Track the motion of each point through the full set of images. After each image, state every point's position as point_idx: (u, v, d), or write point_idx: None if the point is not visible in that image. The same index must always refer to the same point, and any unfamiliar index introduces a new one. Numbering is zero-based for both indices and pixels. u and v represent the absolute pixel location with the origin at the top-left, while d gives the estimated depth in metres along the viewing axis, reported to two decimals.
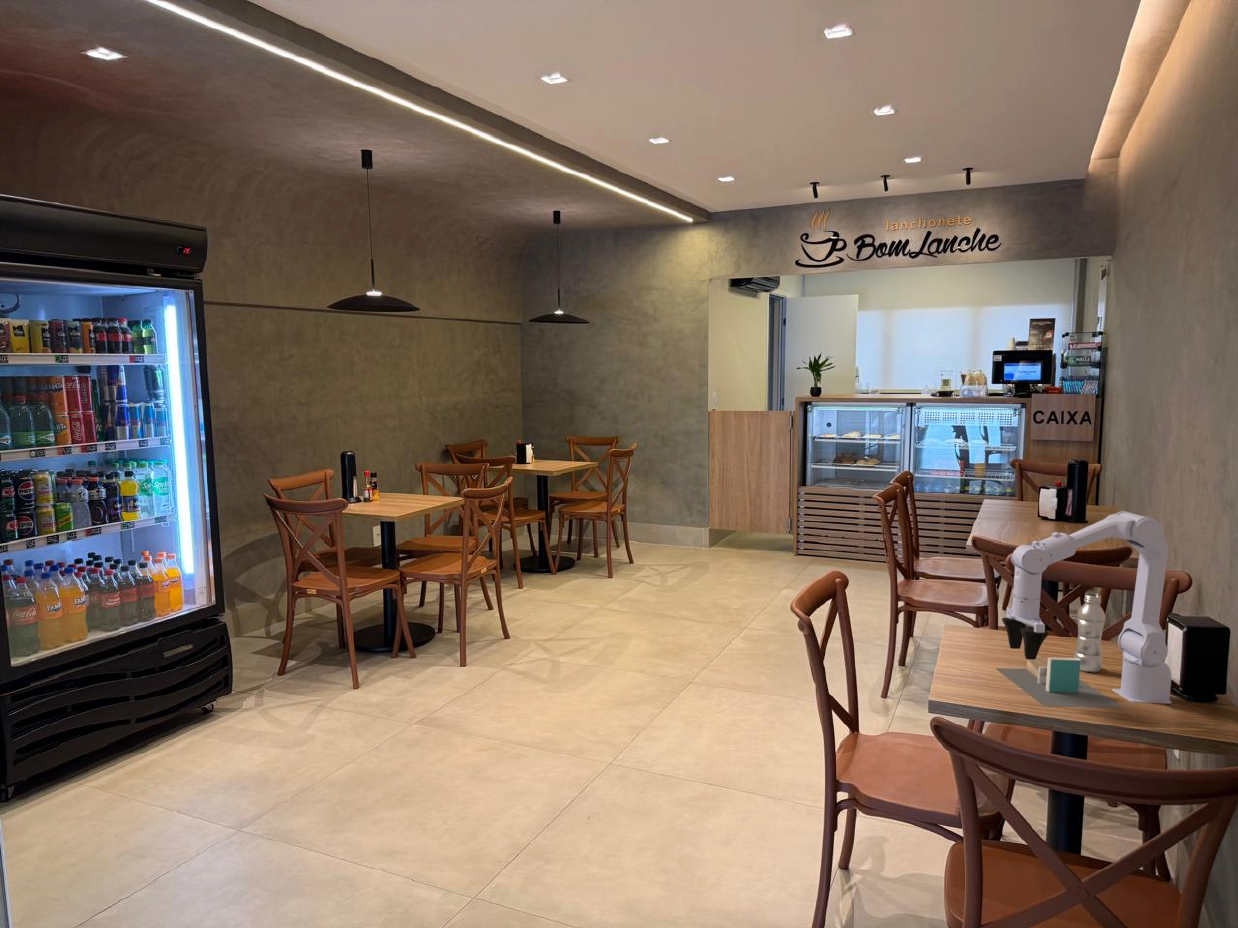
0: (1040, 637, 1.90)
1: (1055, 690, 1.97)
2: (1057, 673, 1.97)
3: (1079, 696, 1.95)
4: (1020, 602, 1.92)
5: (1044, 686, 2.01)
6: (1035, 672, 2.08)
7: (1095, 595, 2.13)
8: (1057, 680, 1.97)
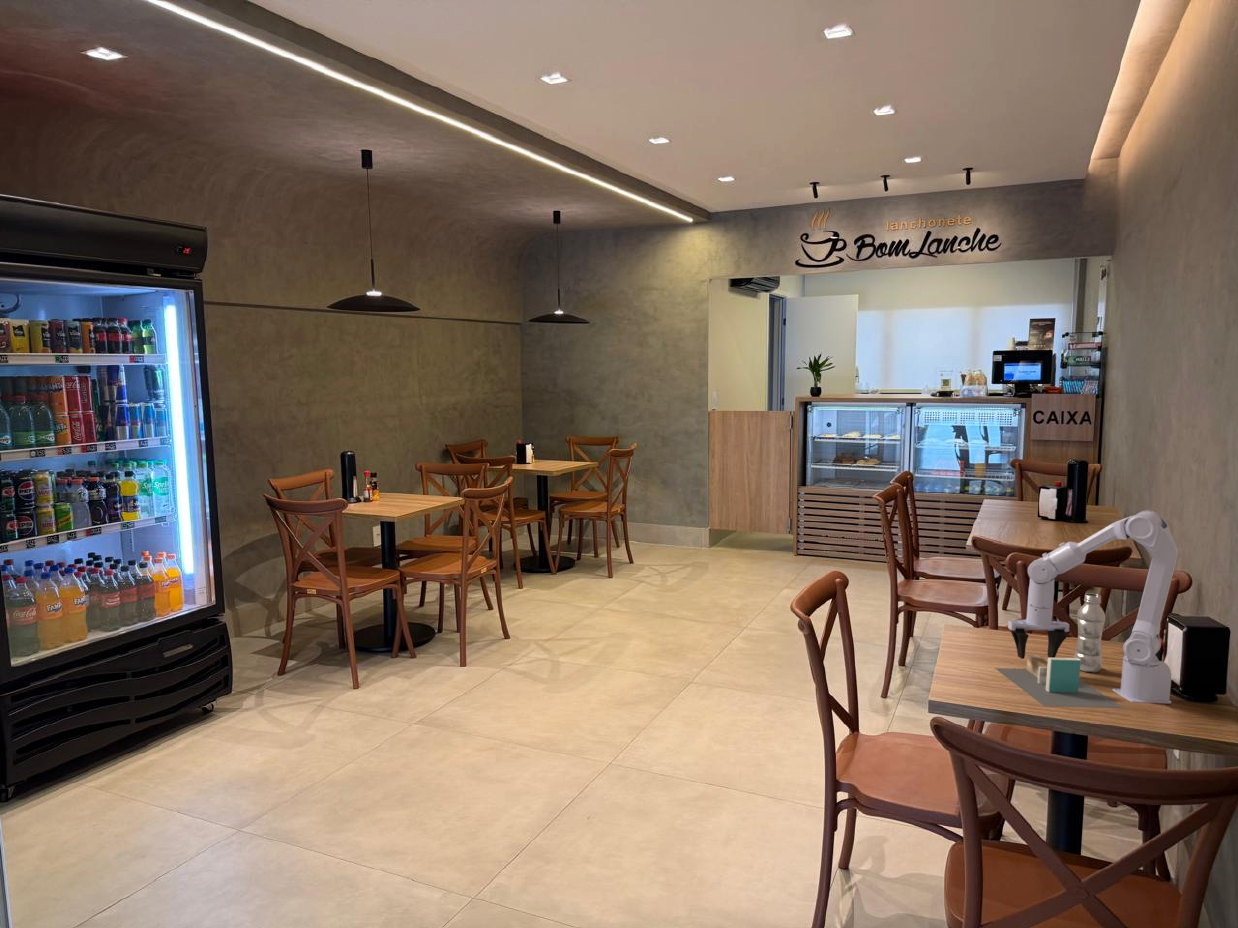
0: None
1: (1055, 690, 1.97)
2: (1057, 673, 1.97)
3: (1079, 696, 1.95)
4: None
5: (1044, 686, 2.01)
6: (1035, 672, 2.08)
7: (1095, 595, 2.13)
8: (1057, 680, 1.97)
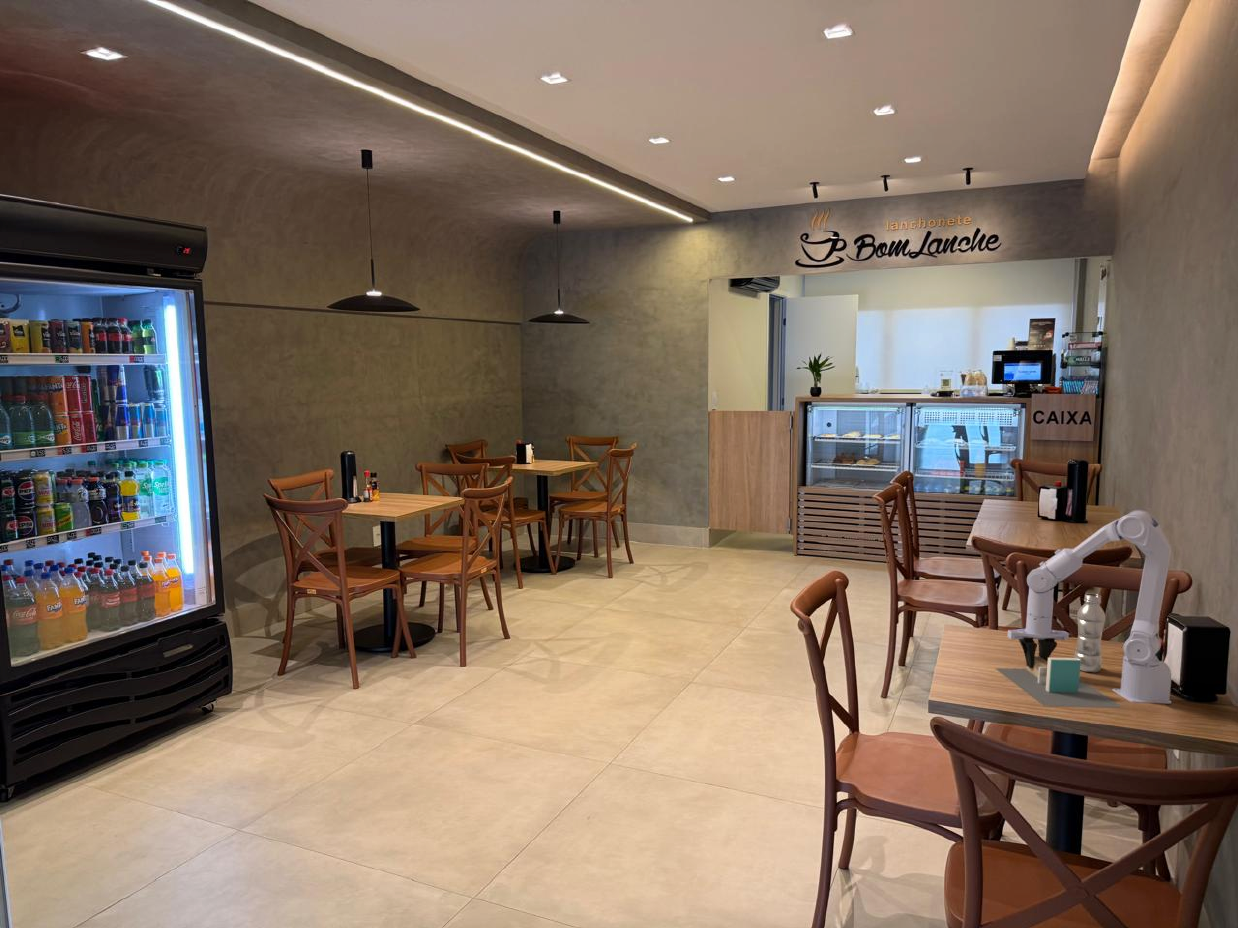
0: None
1: (1055, 690, 1.97)
2: (1057, 673, 1.97)
3: (1079, 696, 1.95)
4: None
5: (1044, 686, 2.01)
6: (1035, 672, 2.08)
7: (1095, 595, 2.13)
8: (1057, 680, 1.97)
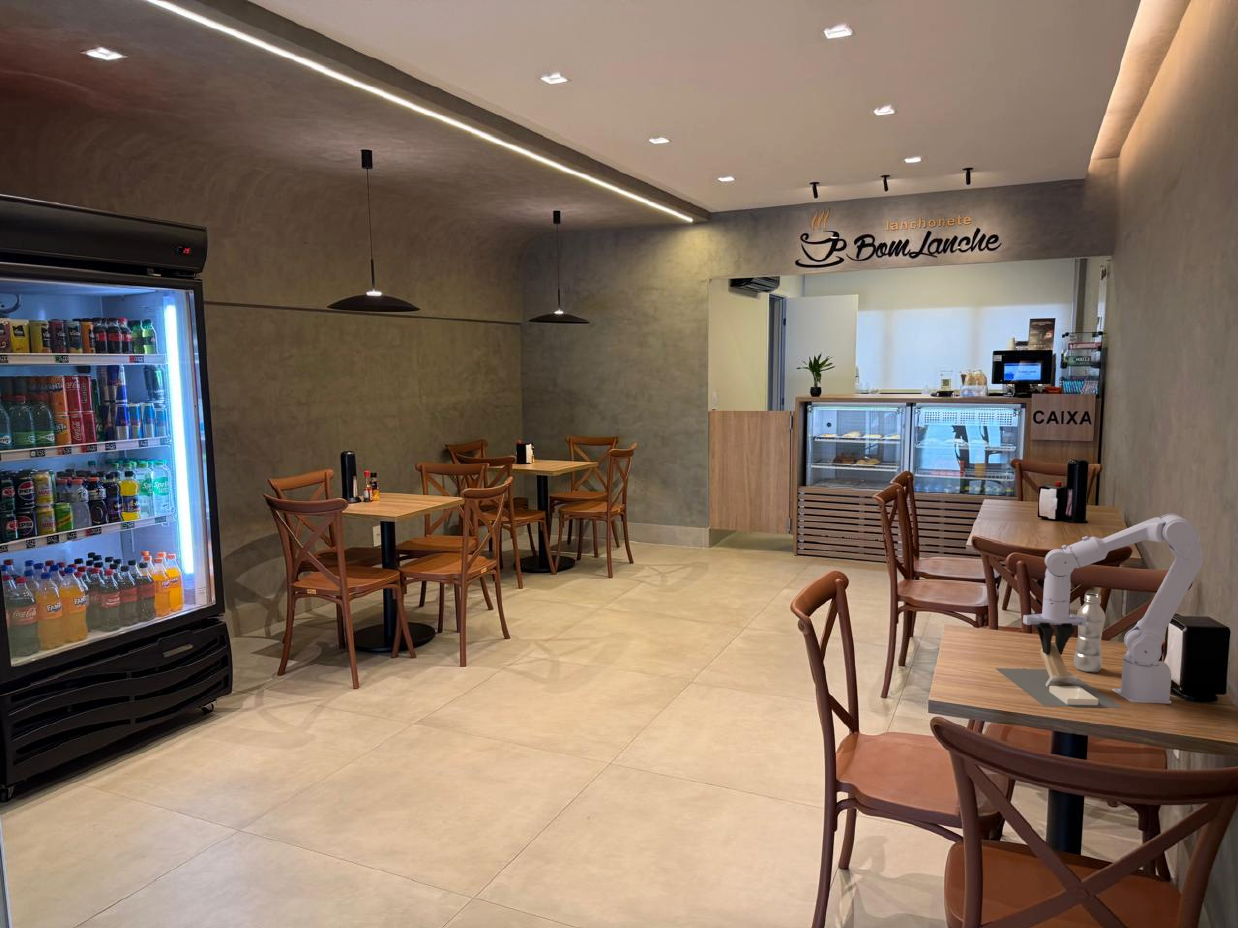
0: None
1: None
2: None
3: None
4: None
5: (1044, 686, 2.01)
6: (1047, 665, 2.03)
7: (1095, 595, 2.13)
8: None
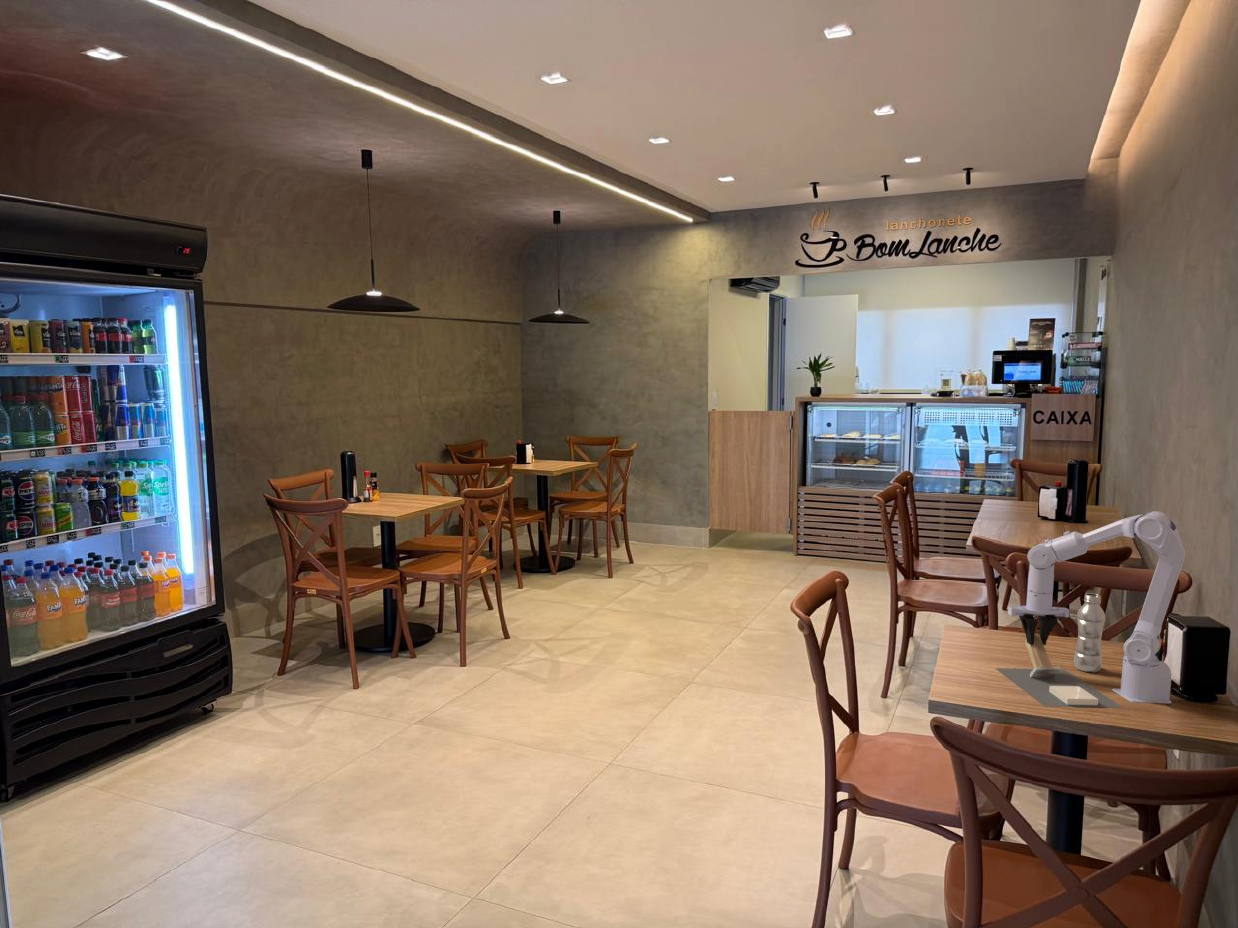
0: None
1: None
2: None
3: None
4: None
5: (1044, 686, 2.01)
6: (1031, 656, 2.10)
7: (1095, 595, 2.13)
8: None
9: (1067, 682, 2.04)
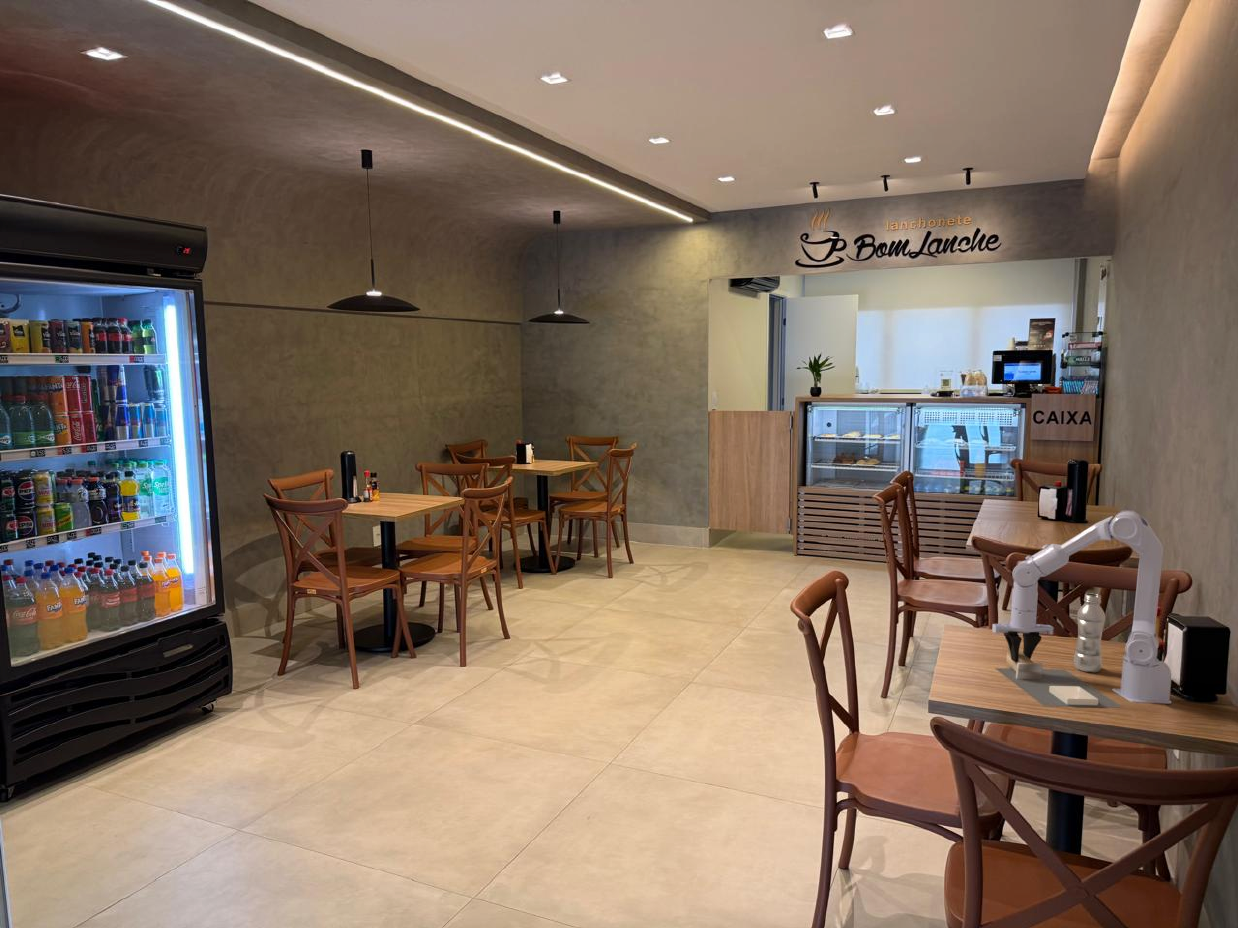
0: None
1: None
2: None
3: None
4: None
5: (1044, 686, 2.01)
6: (1014, 666, 2.11)
7: (1095, 595, 2.13)
8: None
9: (1067, 682, 2.04)
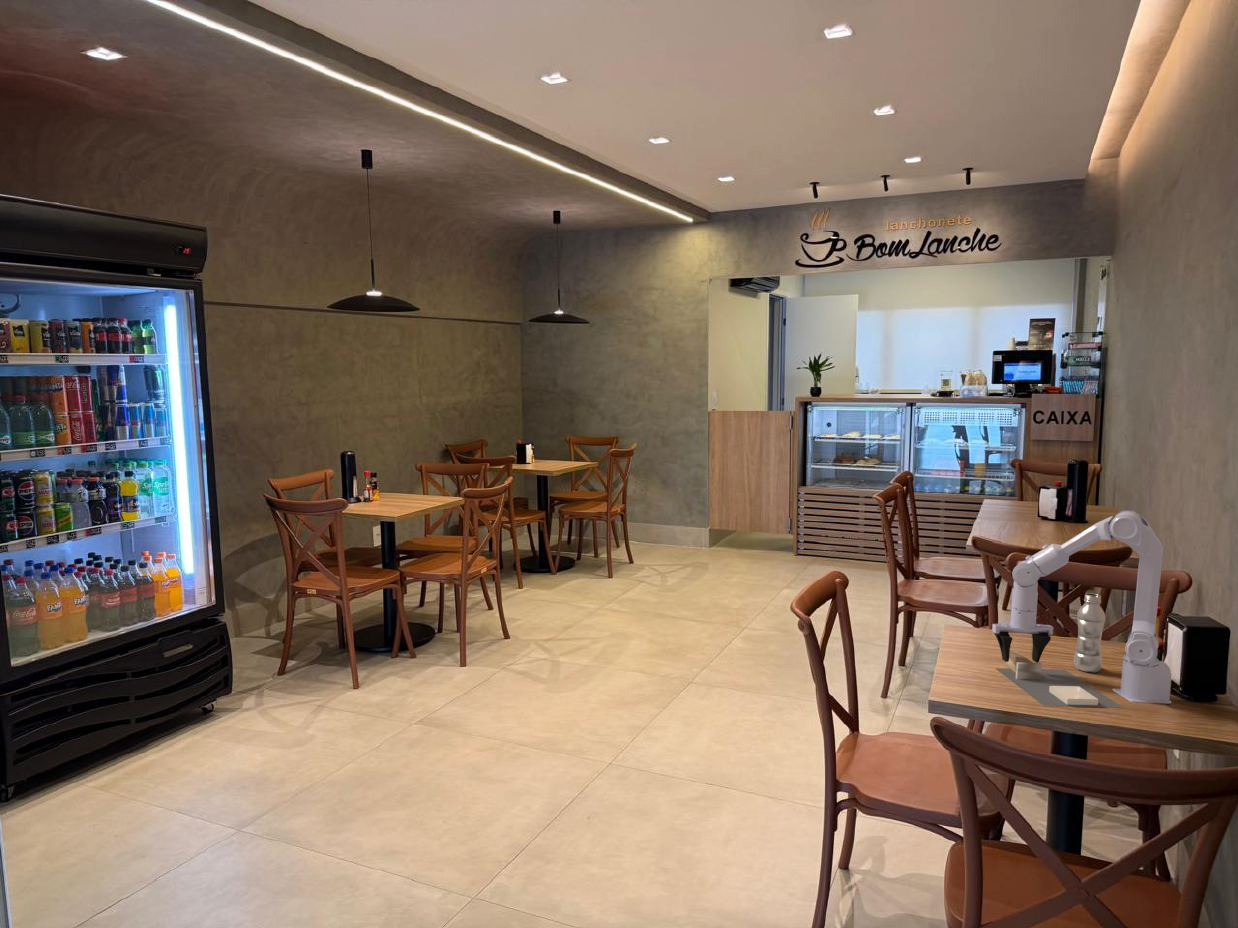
0: None
1: None
2: None
3: None
4: None
5: (1044, 686, 2.01)
6: (1014, 668, 2.11)
7: (1095, 595, 2.13)
8: None
9: (1067, 682, 2.04)
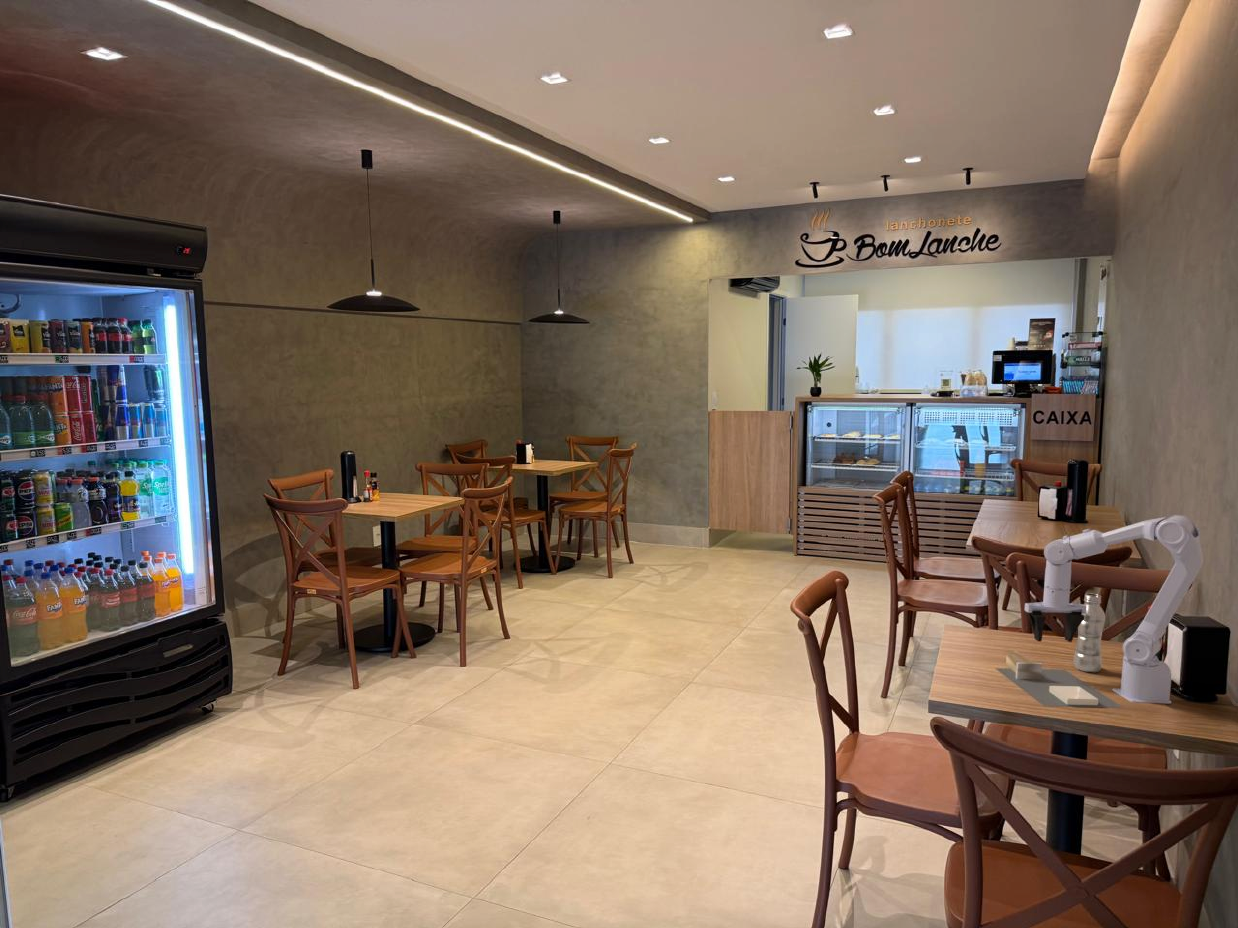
0: None
1: None
2: None
3: None
4: None
5: (1044, 686, 2.01)
6: (1014, 668, 2.11)
7: (1095, 595, 2.13)
8: None
9: (1067, 682, 2.04)
